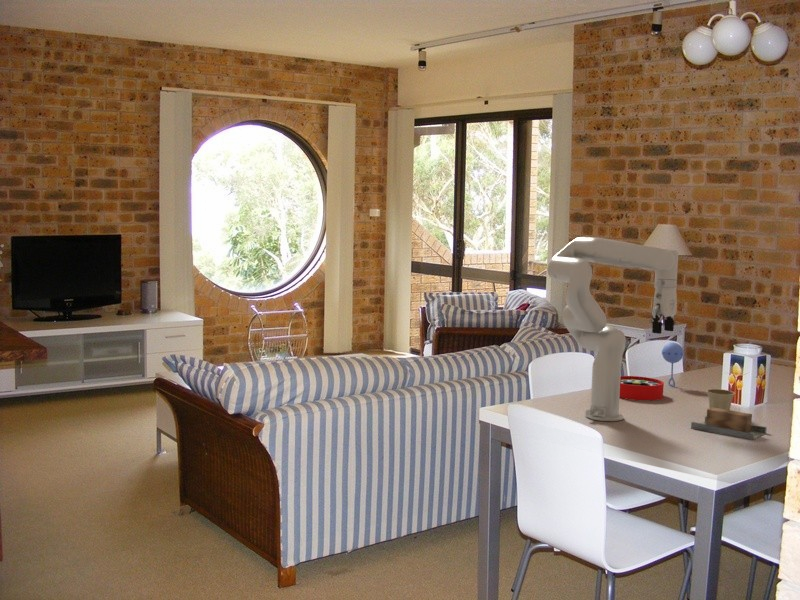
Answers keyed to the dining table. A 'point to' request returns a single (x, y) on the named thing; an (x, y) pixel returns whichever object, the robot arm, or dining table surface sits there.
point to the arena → (731, 430)
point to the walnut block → (729, 419)
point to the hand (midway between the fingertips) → (662, 332)
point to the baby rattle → (672, 356)
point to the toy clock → (641, 388)
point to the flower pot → (720, 398)
